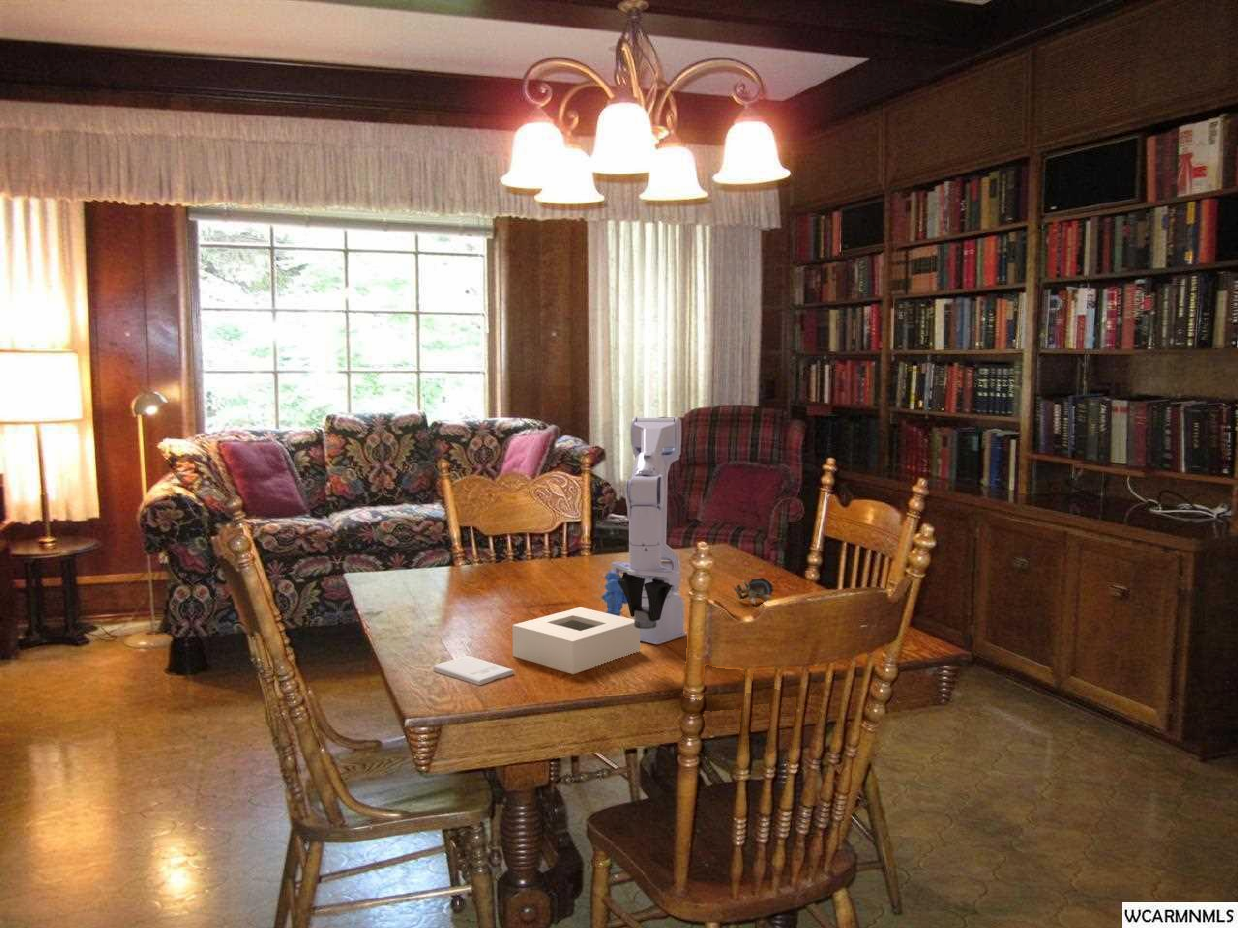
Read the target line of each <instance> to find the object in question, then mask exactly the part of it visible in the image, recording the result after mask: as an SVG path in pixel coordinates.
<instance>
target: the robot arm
mask: <svg viewBox="0 0 1238 928" xmlns="http://www.w3.org/2000/svg"><path fill="white" fill-rule="evenodd" d="M630 445H631V448H632V454H633V455H634V459H633V460H634V461H633V466H632V471H631V477H630V478H627V479H626V482H625V491H624V492H625V503H626V510H627V512H626V514H627V519H628V561H619V560H618V561H614V562H611V570H612V573H614V574H617V573H618V574H619V575H622V576H621V578H619V579H618V584H619V585H620V587H621V589H622V590H623V592H624V595H625V597H626V600H627V603H628V604H627V606H628V610H629V614H630V617H631V618H634V609H635V608H637V607H649V618H650V621H657V626H656V627H655V628H651V629H640V642H645V643H648V644H652V645H660V644H661V645H662V644H664V643H667V642H670V641H672V640H675V639H678V638H682V637H684V636H687V635H686V633H687V632H686V631H684V628H685V627H684V625H685V624H684V622H685V621H684V617H685V615H684V612H685V611H684V610H685V609H684V608H685V606H684V600H683V598H682V596H681V595H680V593H678V592H679V590H680V587H681V565H680V556H679V554H678V552H677V551H676V550H674V549H673V548H672V547H670V546H669V545H668V543H667V523H668V522H667V521H668V520H667V519H668V517H667V516H668V482H669V481H668V479H669V477H668V475H669V472H670V469H671V465H672V464H673V463H674V462H676V461H679V460H680V456H681V445H682V421H681V419H680V418H679V416H675V417H638V416H634V417H633V418H632V419H631V421H630Z"/></svg>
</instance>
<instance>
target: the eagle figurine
mask: <svg viewBox="0 0 1238 928" xmlns="http://www.w3.org/2000/svg"><path fill="white" fill-rule="evenodd" d="M741 583H743V585H744V587H745V588H744V589H742V587H741V585H740V584H737V585H736V586H734V585H733V591H735V592H736V594H737V597H738V600H739V599H743V600H744V599H748V598H749V601H750V603H751V604H752V603H755V604H756V599H760V600H762V601H764V602H766V601H767V600H770V599H772V598H771V597H770V596H771V595H772V593H773V592H774V590H775V589H774V588H773V585H772V583H771V582H770V581H769V580H768V579H766V578H764V577H760V578H751V580H750V581H749V582H748V583H747V582H746V581H745V580H744V579H742V582H741ZM742 594H744V595H742Z"/></svg>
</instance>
